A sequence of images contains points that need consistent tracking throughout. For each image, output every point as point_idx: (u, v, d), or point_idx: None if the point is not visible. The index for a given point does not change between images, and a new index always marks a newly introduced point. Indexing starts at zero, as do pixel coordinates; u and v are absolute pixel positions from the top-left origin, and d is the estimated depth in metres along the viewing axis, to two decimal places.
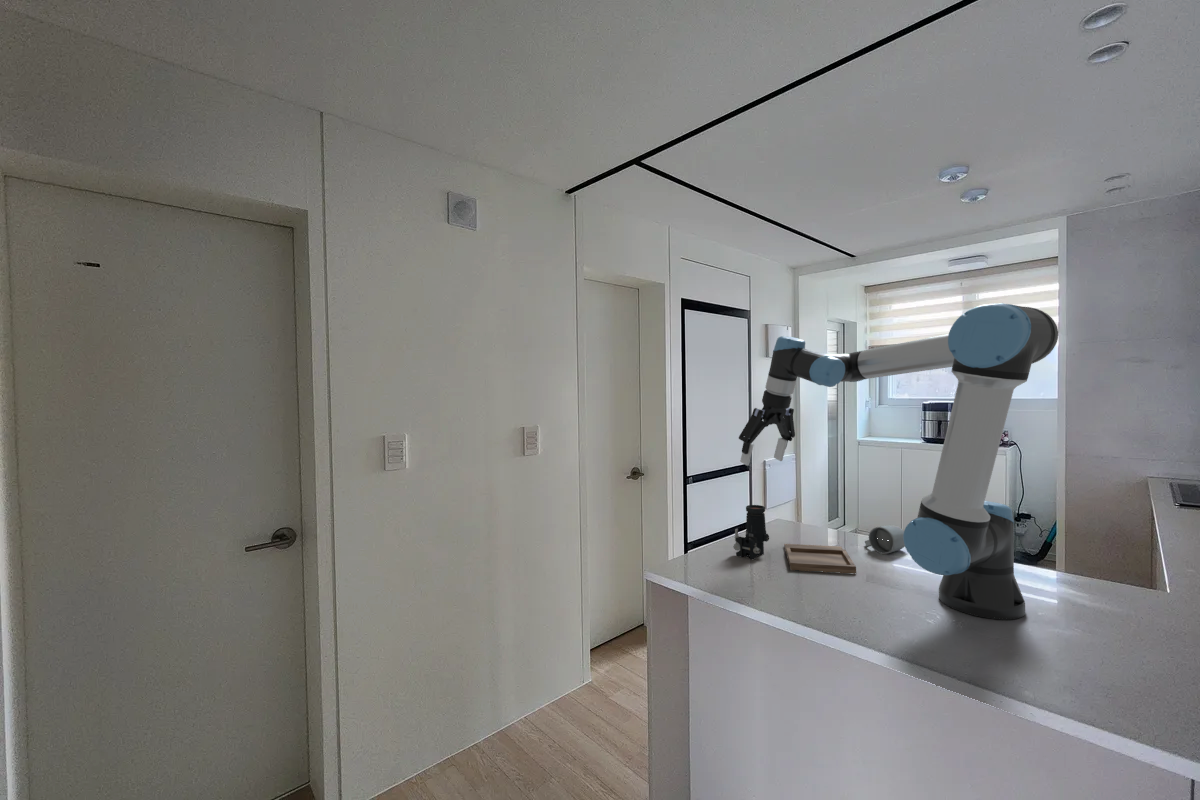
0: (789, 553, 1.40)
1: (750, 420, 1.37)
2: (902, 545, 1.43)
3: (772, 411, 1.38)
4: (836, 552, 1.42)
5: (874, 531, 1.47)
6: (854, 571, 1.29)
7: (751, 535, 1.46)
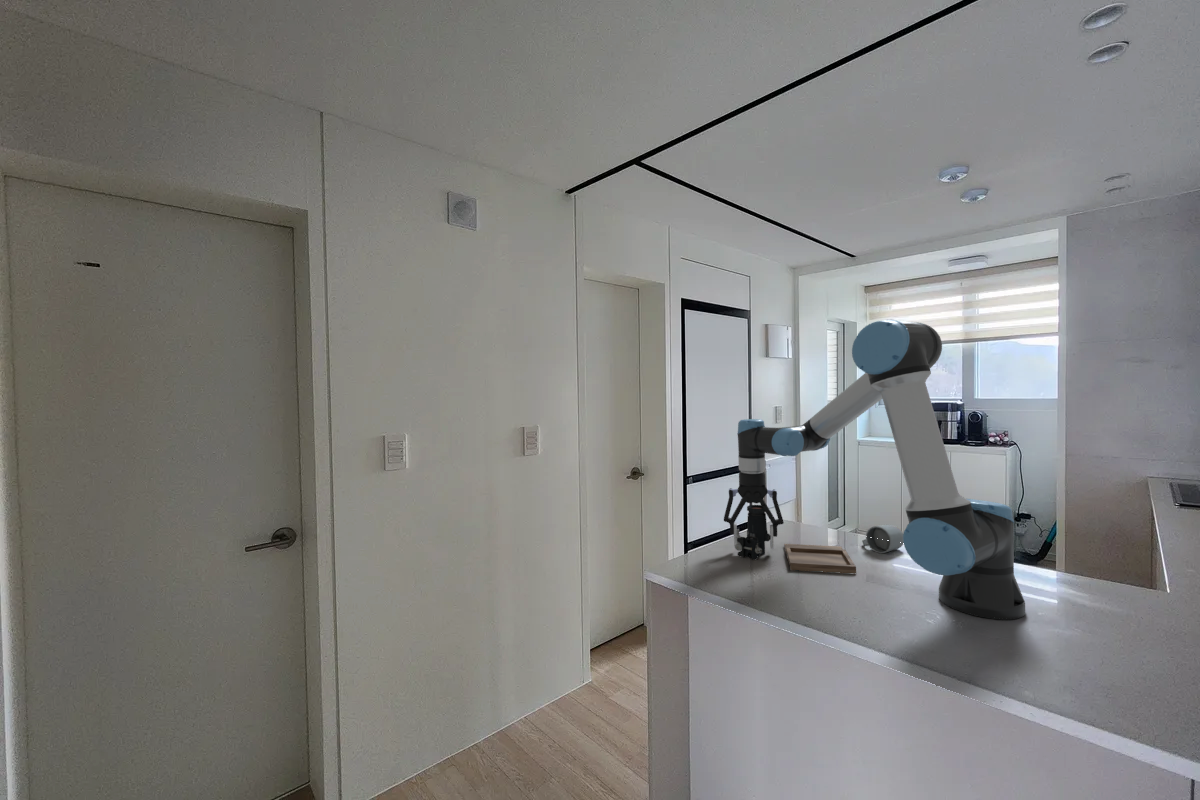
0: (789, 553, 1.40)
1: None
2: (899, 544, 1.44)
3: (745, 488, 1.46)
4: (836, 552, 1.42)
5: (871, 530, 1.48)
6: (854, 571, 1.29)
7: (752, 535, 1.45)
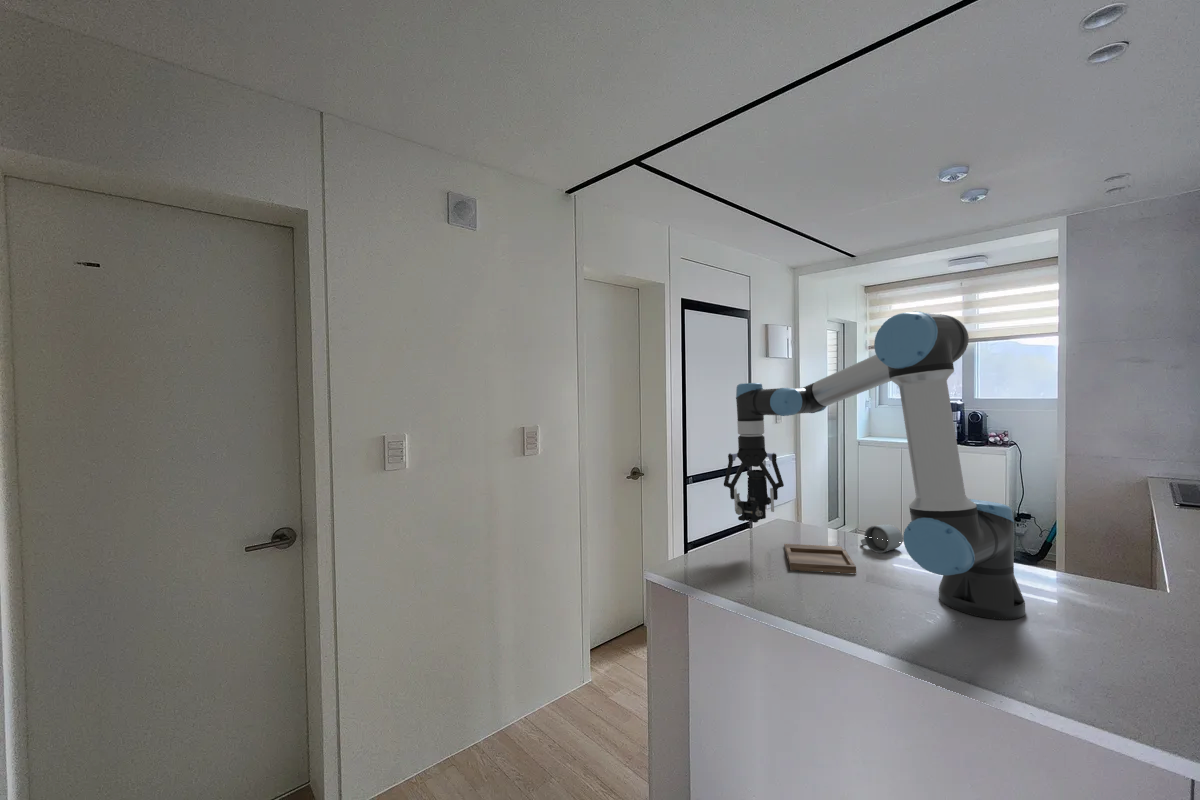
0: (789, 553, 1.40)
1: None
2: (897, 544, 1.44)
3: (745, 452, 1.46)
4: (836, 552, 1.42)
5: (870, 530, 1.48)
6: (854, 571, 1.29)
7: (753, 499, 1.45)
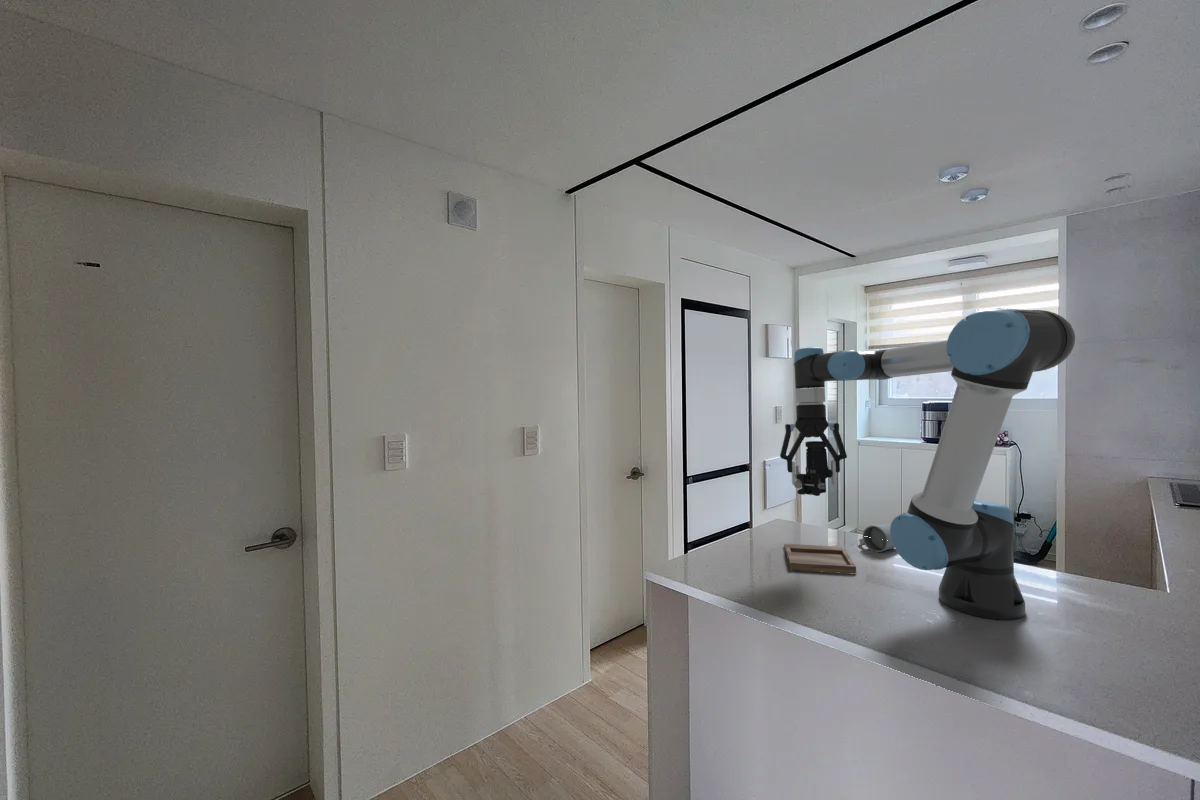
0: (789, 553, 1.40)
1: (784, 437, 1.39)
2: None
3: (804, 422, 1.37)
4: (836, 552, 1.42)
5: (868, 530, 1.49)
6: (854, 571, 1.29)
7: (813, 471, 1.36)
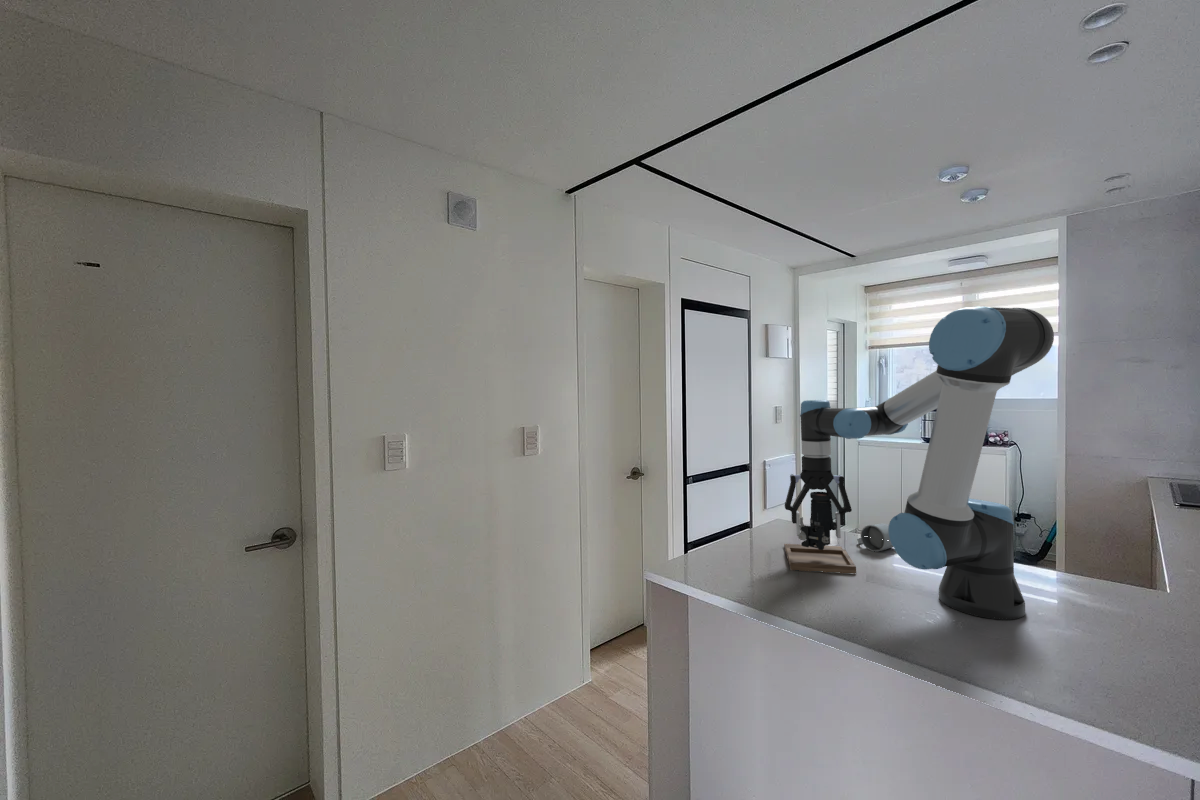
0: (789, 553, 1.40)
1: (789, 487, 1.40)
2: None
3: (809, 474, 1.37)
4: (836, 552, 1.42)
5: (866, 529, 1.49)
6: (854, 571, 1.29)
7: (817, 524, 1.36)
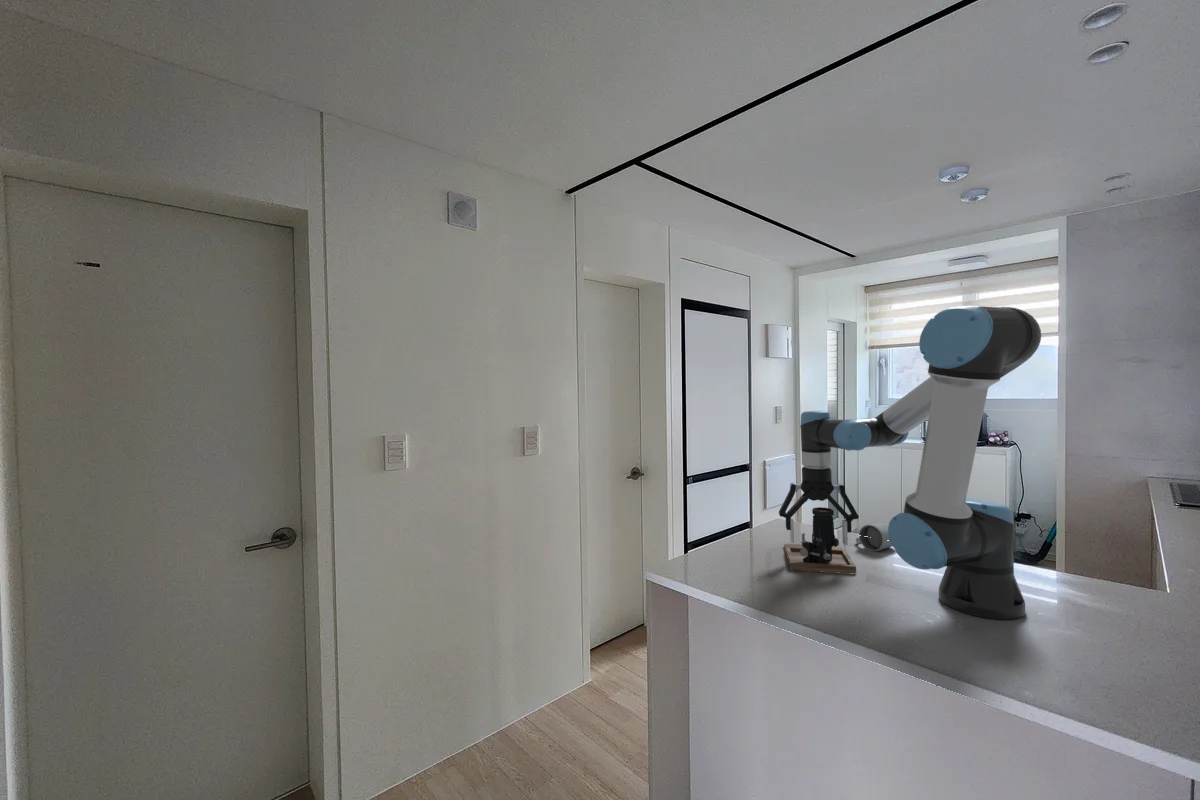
0: (789, 553, 1.40)
1: (787, 495, 1.40)
2: None
3: (810, 486, 1.37)
4: (836, 552, 1.42)
5: (864, 529, 1.49)
6: (854, 571, 1.29)
7: (819, 540, 1.36)
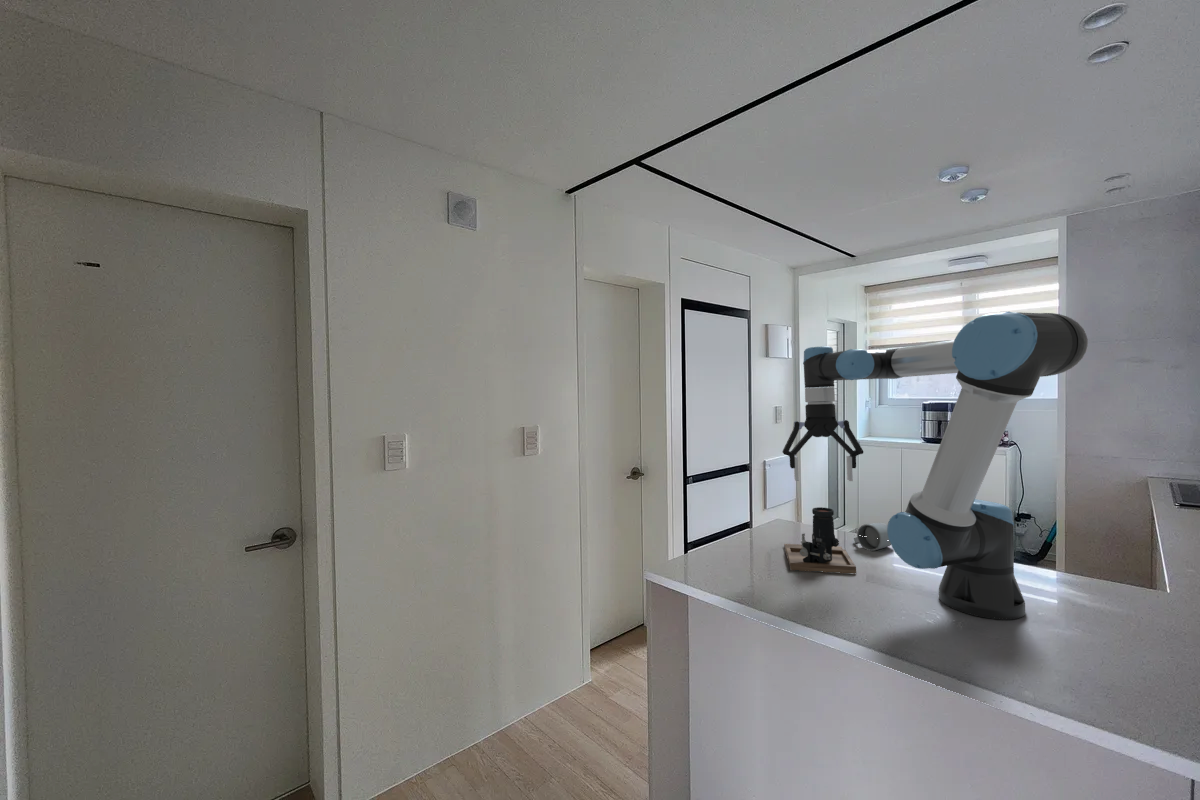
0: (789, 553, 1.40)
1: (791, 433, 1.38)
2: (889, 542, 1.46)
3: (814, 422, 1.35)
4: (836, 552, 1.42)
5: (862, 528, 1.50)
6: (854, 571, 1.29)
7: (819, 540, 1.36)
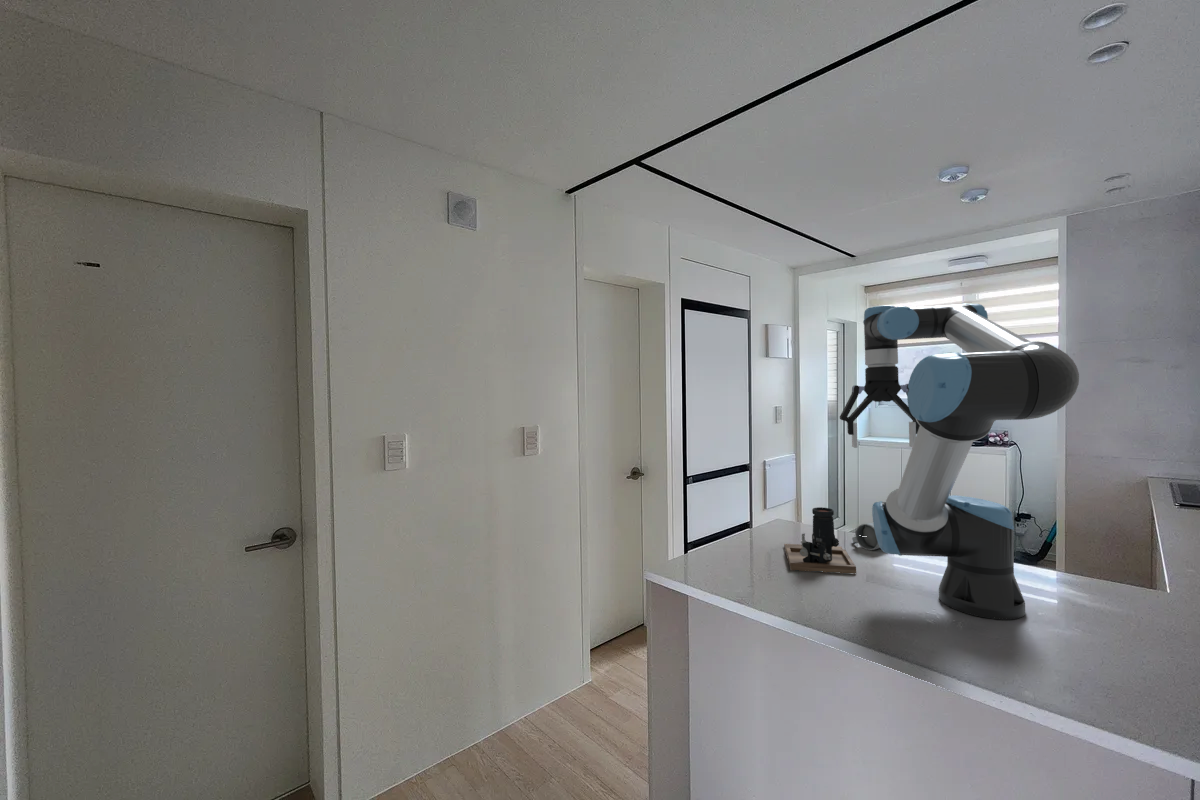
0: (789, 553, 1.40)
1: (849, 398, 1.32)
2: None
3: (875, 386, 1.29)
4: (836, 552, 1.42)
5: (861, 528, 1.50)
6: (854, 571, 1.29)
7: (819, 540, 1.36)
